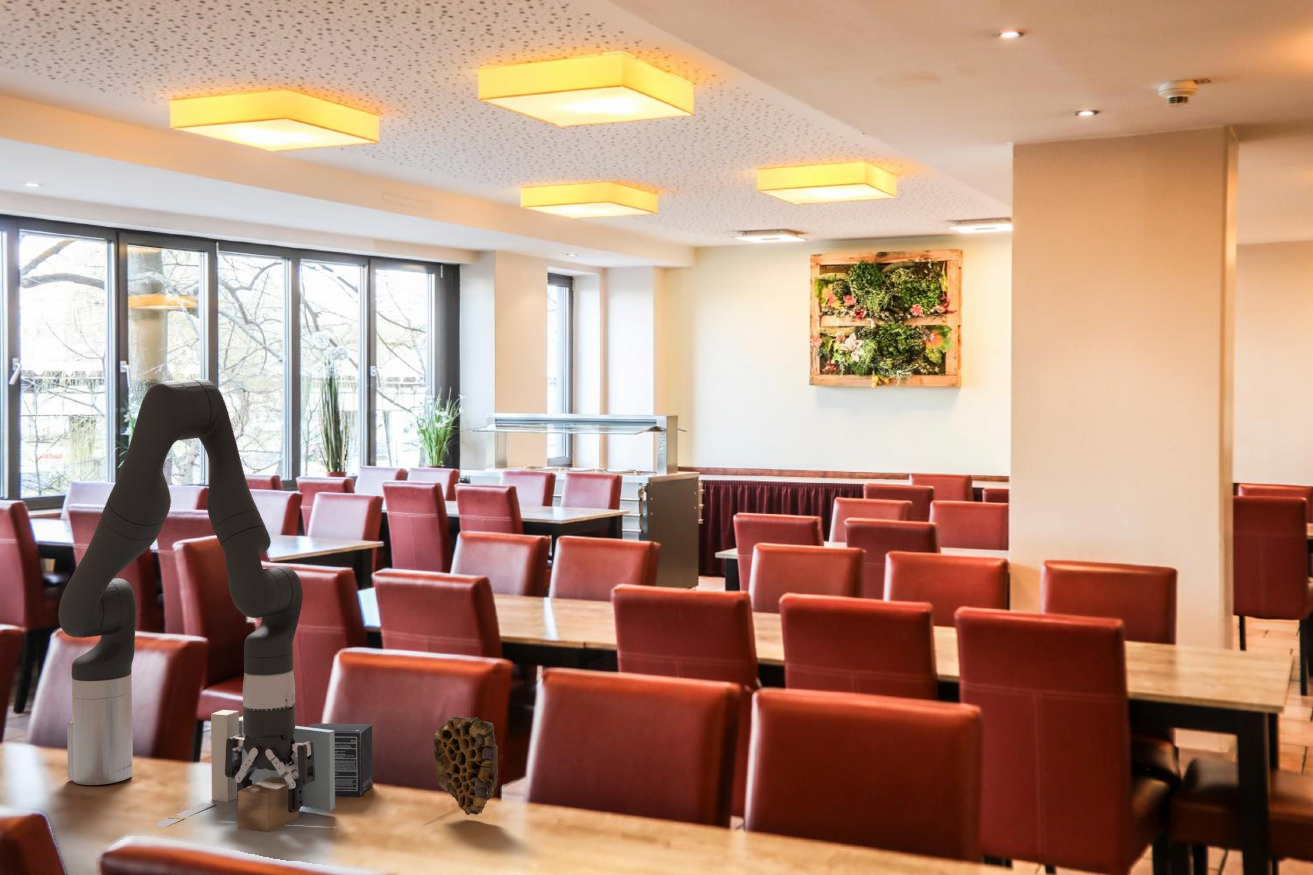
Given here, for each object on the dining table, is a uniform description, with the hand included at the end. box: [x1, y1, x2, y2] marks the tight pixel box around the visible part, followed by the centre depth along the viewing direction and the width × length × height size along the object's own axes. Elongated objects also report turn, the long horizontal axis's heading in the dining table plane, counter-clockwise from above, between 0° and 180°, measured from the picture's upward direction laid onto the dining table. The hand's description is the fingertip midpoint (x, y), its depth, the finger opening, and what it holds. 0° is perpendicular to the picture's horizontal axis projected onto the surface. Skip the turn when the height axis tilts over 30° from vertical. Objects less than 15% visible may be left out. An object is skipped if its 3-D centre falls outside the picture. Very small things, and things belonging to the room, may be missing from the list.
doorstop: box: [237, 776, 300, 833], centre depth 191 cm, size 5×8×6 cm, turn 161°
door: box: [239, 720, 336, 811], centre depth 198 cm, size 3×18×12 cm, turn 66°
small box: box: [307, 722, 374, 797], centre depth 208 cm, size 11×6×10 cm, turn 84°
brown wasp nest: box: [433, 716, 499, 816], centre depth 195 cm, size 11×4×15 cm, turn 74°
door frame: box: [154, 709, 243, 828], centre depth 197 cm, size 3×32×14 cm, turn 162°
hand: (270, 808), depth 191 cm, fingers open, 8 cm apart
